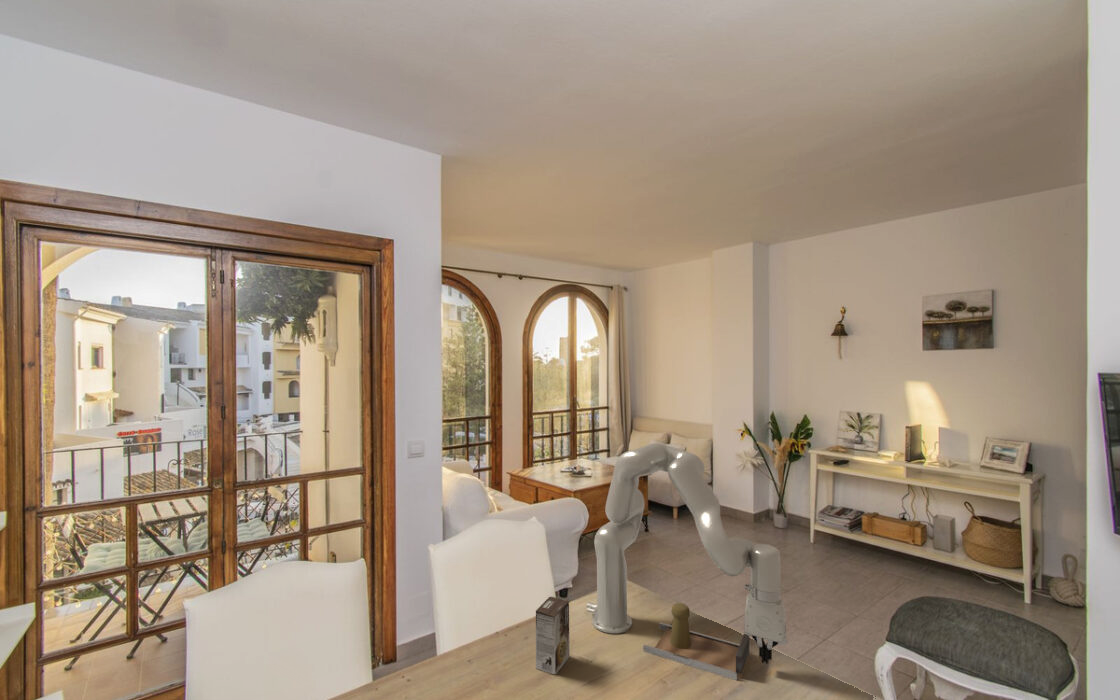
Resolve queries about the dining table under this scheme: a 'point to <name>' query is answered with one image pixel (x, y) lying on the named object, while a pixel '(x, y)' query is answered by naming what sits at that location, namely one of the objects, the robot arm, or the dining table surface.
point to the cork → (680, 626)
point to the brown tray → (711, 652)
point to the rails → (691, 661)
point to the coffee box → (552, 635)
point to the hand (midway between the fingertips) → (765, 660)
